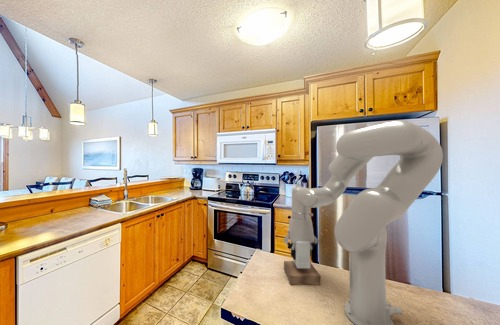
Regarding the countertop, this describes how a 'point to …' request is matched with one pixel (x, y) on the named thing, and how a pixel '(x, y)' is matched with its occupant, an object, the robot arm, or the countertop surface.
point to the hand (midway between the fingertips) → (301, 257)
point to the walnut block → (301, 274)
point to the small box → (302, 254)
